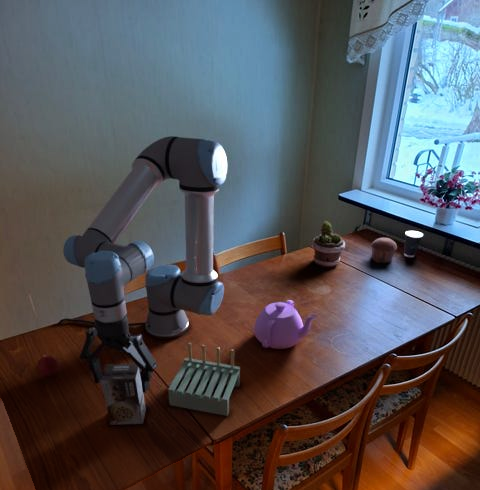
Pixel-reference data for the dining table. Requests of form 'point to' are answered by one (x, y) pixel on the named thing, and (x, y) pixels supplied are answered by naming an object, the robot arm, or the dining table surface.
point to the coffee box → (123, 394)
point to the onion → (47, 365)
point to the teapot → (281, 325)
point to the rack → (204, 384)
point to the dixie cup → (412, 243)
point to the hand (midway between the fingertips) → (122, 384)
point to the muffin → (383, 250)
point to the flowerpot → (327, 247)
